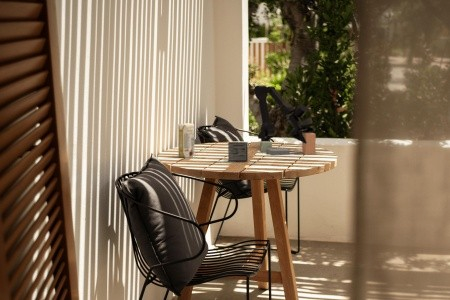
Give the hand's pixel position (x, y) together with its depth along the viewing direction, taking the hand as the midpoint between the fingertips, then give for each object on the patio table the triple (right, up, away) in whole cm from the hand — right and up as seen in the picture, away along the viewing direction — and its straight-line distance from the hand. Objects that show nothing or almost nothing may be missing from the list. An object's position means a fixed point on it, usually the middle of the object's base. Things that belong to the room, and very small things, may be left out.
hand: (310, 142), depth 463 cm
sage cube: (-26, -5, +10) cm, 29 cm away
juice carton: (-73, -8, -12) cm, 74 cm away
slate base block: (-19, -7, +1) cm, 21 cm away
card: (-5, -5, +14) cm, 16 cm away
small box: (-43, -11, -28) cm, 53 cm away
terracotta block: (-1, -6, +2) cm, 7 cm away
